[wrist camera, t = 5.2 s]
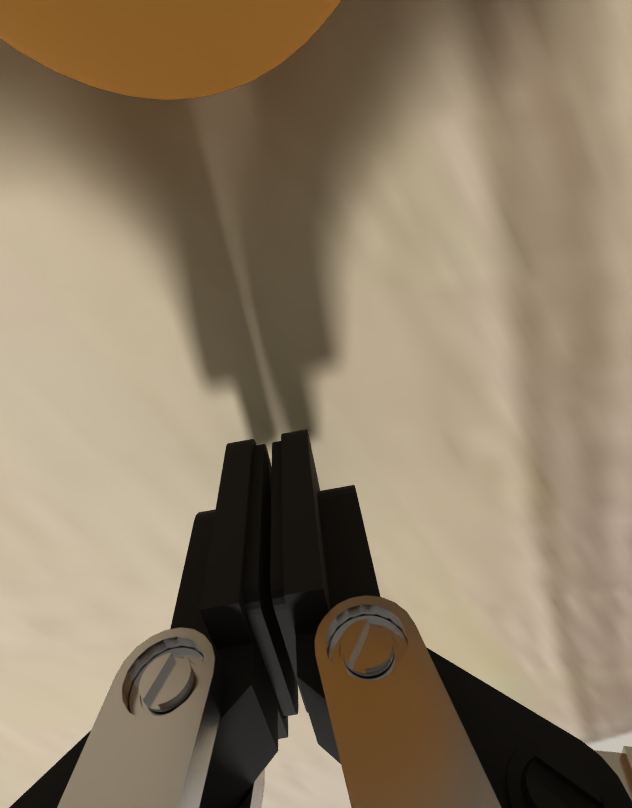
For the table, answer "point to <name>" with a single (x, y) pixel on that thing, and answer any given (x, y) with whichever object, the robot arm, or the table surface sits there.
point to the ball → (161, 41)
